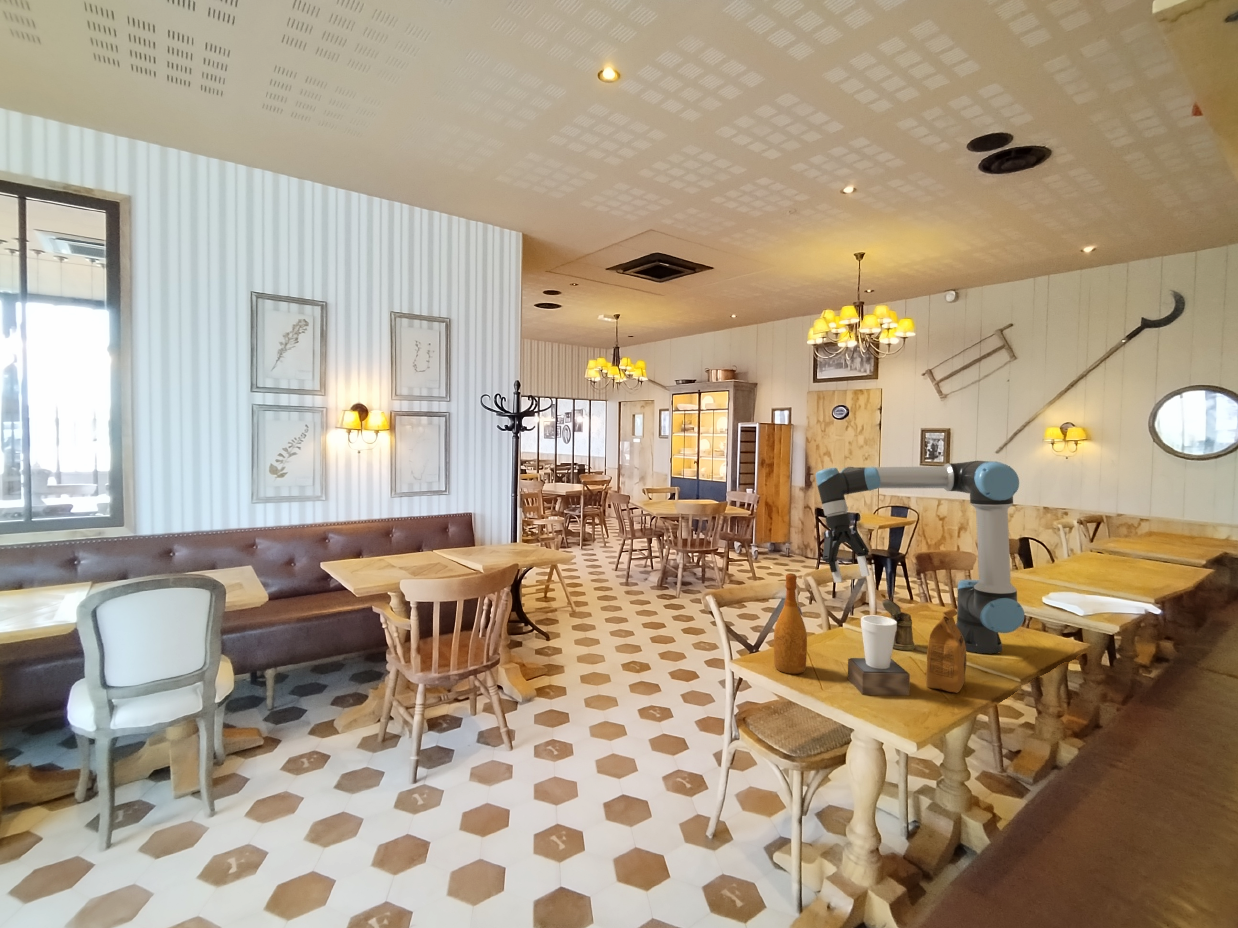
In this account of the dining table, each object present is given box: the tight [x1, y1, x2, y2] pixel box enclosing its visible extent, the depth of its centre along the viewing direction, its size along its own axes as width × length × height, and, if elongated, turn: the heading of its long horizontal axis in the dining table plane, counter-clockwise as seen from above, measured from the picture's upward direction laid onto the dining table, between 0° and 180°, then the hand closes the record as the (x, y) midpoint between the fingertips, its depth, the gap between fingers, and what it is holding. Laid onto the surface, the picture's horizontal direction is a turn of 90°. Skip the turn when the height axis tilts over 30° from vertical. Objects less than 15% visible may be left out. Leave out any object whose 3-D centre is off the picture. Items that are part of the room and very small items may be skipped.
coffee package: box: [925, 607, 967, 693], centre depth 167 cm, size 10×12×22 cm
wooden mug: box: [881, 598, 915, 652], centre depth 198 cm, size 9×14×18 cm, turn 126°
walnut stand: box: [847, 657, 911, 696], centre depth 167 cm, size 13×11×6 cm
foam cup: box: [860, 614, 897, 669], centre depth 166 cm, size 10×9×13 cm
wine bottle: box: [773, 572, 808, 675], centre depth 179 cm, size 10×10×30 cm
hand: (852, 579), depth 187 cm, fingers open, 13 cm apart
